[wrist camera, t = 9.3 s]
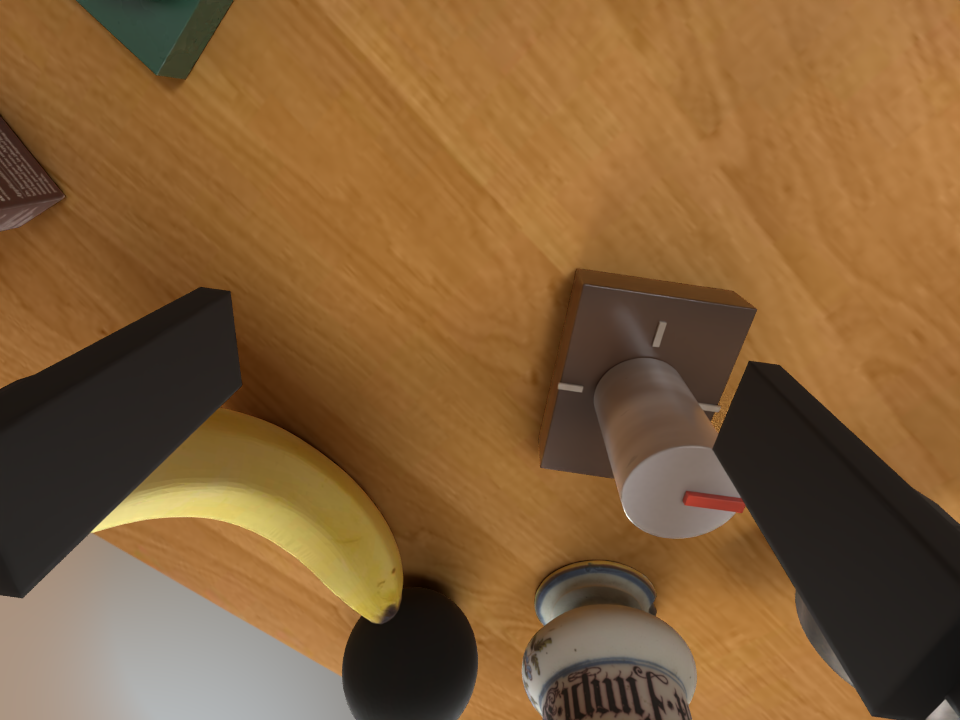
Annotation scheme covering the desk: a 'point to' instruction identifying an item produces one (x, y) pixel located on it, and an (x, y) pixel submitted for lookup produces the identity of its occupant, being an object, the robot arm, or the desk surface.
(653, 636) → the apothecary jar
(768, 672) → the desk surface
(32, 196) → the box
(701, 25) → the desk surface
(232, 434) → the banana
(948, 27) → the desk surface
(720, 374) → the dial panel
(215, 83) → the desk surface
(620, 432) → the dial
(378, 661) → the decorative ball
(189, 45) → the button box
